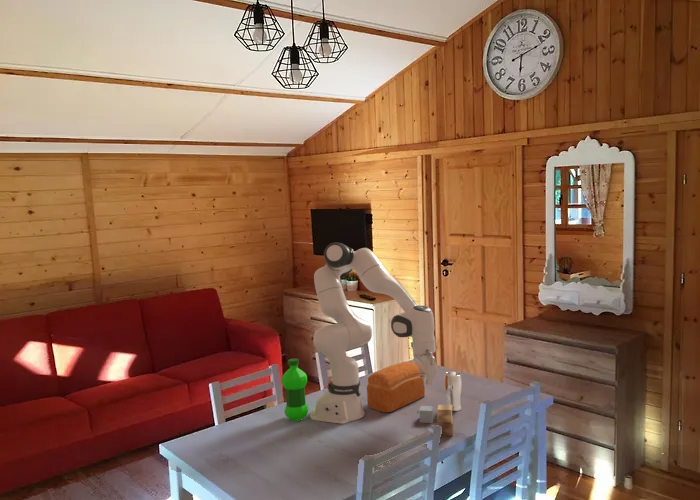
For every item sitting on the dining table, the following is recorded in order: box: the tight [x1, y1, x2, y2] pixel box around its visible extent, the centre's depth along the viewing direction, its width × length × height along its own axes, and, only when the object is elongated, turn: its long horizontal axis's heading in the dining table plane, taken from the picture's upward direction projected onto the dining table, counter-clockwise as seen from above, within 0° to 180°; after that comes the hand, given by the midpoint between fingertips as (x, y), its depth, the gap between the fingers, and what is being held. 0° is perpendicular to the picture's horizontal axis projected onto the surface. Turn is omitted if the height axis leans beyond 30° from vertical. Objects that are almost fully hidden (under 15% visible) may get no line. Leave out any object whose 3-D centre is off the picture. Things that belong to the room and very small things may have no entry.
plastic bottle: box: [281, 358, 309, 422], centre depth 243 cm, size 10×10×25 cm
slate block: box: [418, 405, 435, 424], centre depth 236 cm, size 5×5×5 cm
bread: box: [366, 361, 426, 413], centre depth 257 cm, size 14×26×16 cm, turn 135°
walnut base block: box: [435, 416, 455, 437], centre depth 224 cm, size 6×6×5 cm
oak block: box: [437, 404, 453, 423], centre depth 223 cm, size 5×5×5 cm
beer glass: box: [444, 370, 463, 412], centre depth 246 cm, size 7×7×15 cm
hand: (425, 381), depth 235 cm, fingers open, 8 cm apart
